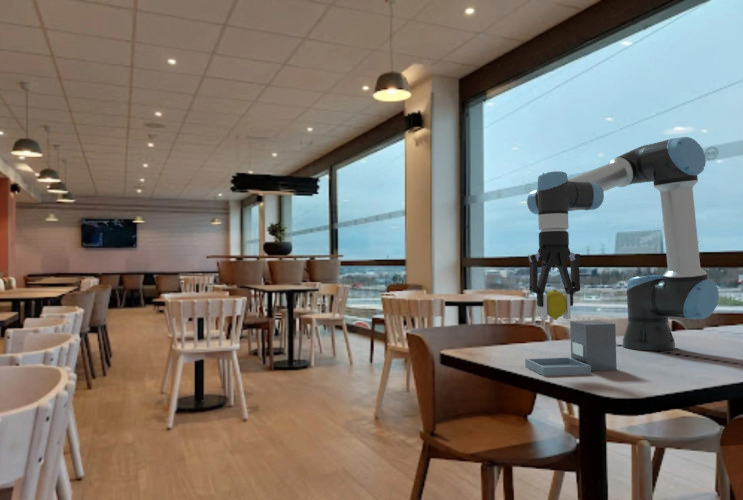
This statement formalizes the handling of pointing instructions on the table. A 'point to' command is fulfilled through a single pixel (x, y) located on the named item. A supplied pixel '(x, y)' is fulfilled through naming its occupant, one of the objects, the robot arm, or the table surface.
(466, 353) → the table surface
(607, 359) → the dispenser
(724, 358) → the table surface
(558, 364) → the dish
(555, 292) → the lemon
